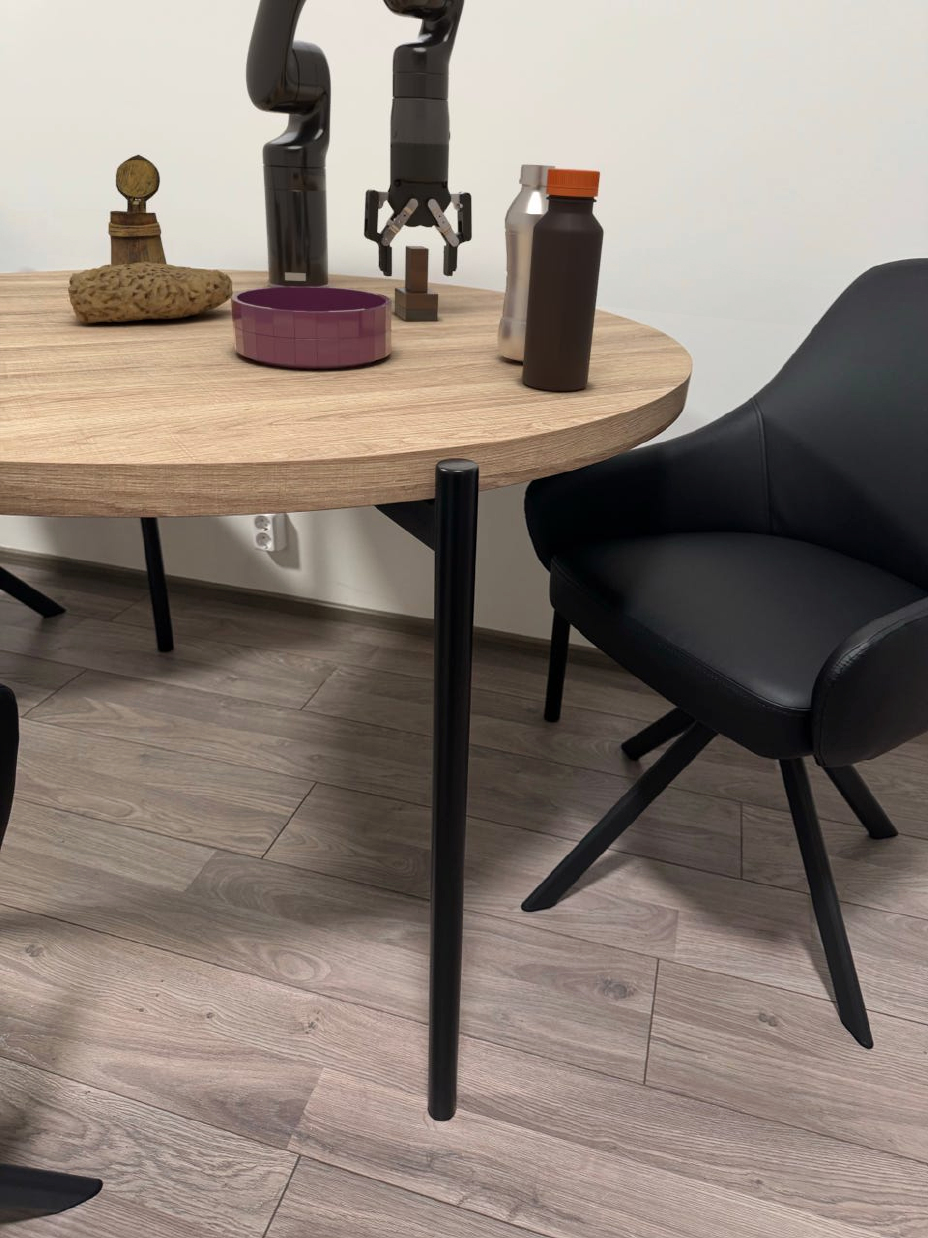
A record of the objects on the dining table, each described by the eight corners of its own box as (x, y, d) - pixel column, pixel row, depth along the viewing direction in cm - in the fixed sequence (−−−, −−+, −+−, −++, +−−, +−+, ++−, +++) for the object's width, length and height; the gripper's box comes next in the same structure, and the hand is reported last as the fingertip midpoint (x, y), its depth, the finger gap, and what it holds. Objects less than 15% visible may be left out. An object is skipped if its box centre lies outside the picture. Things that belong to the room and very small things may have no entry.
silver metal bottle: (557, 357, 106) (574, 166, 97) (546, 369, 100) (563, 167, 91) (503, 352, 107) (515, 163, 98) (489, 363, 102) (500, 163, 92)
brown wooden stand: (183, 288, 138) (171, 155, 130) (170, 302, 127) (156, 158, 118) (122, 286, 137) (106, 152, 129) (104, 301, 125) (84, 154, 117)
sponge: (83, 341, 108) (247, 302, 113) (58, 272, 105) (228, 235, 110) (87, 339, 120) (235, 304, 125) (65, 277, 117) (217, 244, 122)
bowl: (228, 339, 107) (224, 285, 104) (371, 337, 112) (371, 285, 109) (244, 373, 92) (240, 312, 89) (408, 369, 97) (409, 310, 95)
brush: (394, 313, 127) (395, 244, 123) (425, 313, 129) (426, 244, 125) (405, 321, 122) (406, 249, 118) (437, 320, 124) (439, 249, 120)
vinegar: (532, 373, 98) (549, 167, 89) (594, 381, 96) (617, 171, 87) (513, 386, 93) (528, 167, 83) (577, 395, 91) (600, 172, 81)
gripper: (463, 142, 121) (459, 272, 128) (358, 137, 117) (360, 271, 124) (482, 142, 114) (476, 279, 122) (371, 137, 110) (372, 279, 118)
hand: (417, 275), depth 123 cm, fingers open, 8 cm apart
